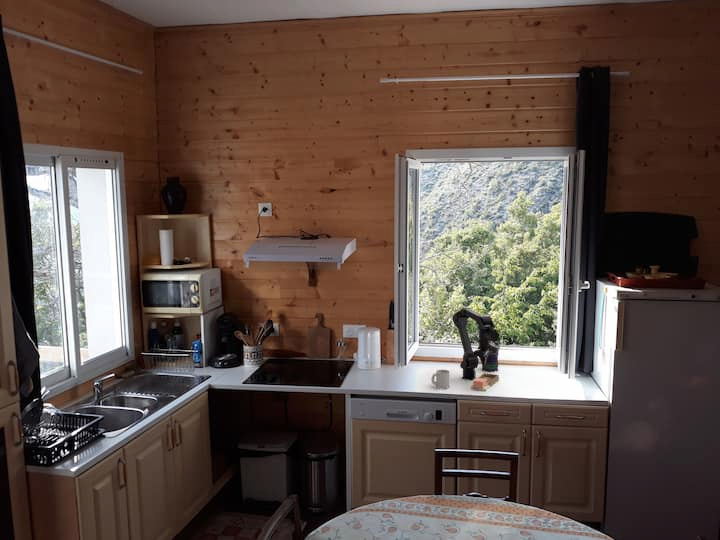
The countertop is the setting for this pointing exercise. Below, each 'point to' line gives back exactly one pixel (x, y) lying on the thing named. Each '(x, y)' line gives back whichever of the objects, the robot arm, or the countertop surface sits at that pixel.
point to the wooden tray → (488, 380)
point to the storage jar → (491, 362)
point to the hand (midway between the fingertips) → (483, 365)
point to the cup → (441, 378)
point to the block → (479, 383)
